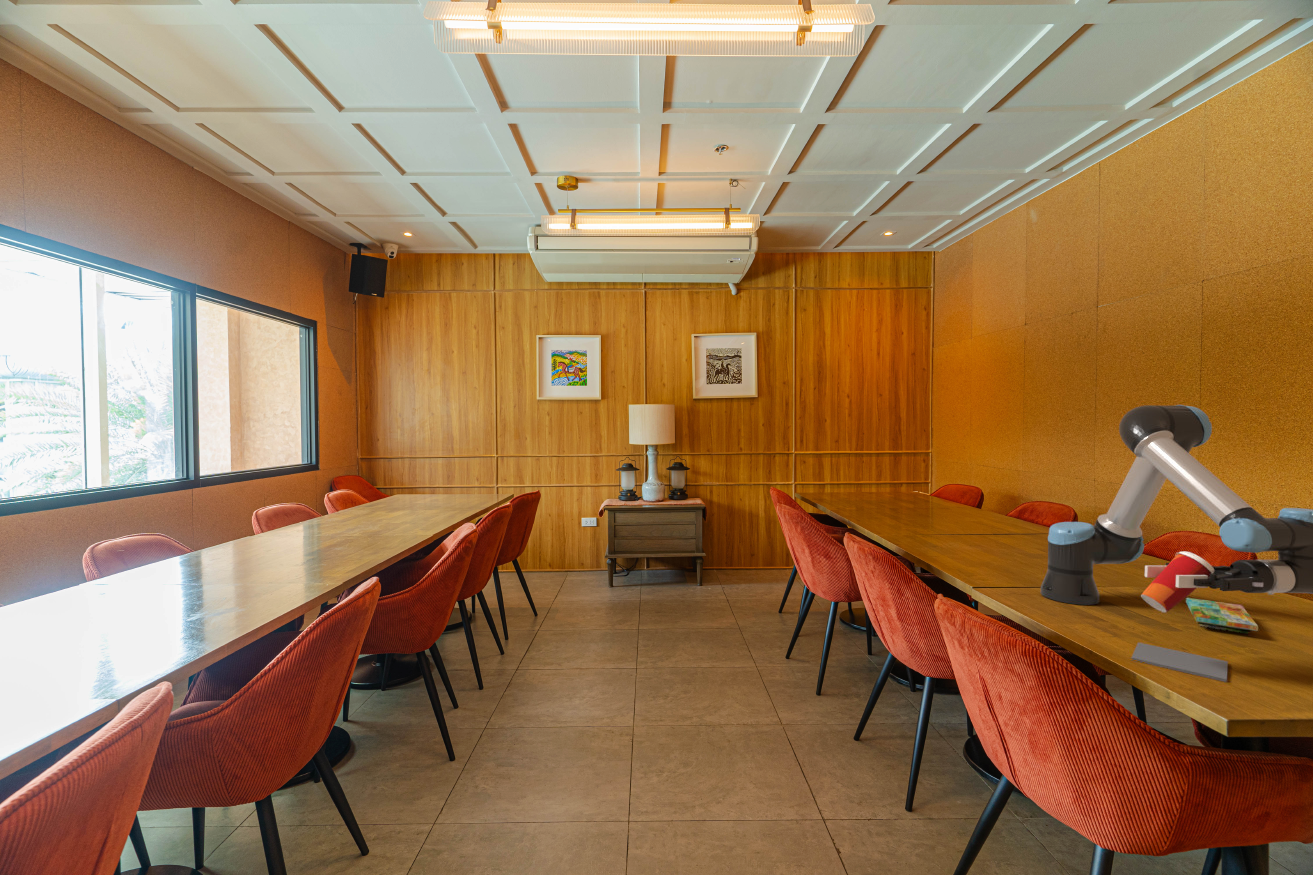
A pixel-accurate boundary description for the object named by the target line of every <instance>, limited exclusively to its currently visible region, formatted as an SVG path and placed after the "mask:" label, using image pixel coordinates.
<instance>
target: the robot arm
mask: <svg viewBox="0 0 1313 875" xmlns="http://www.w3.org/2000/svg"><path fill="white" fill-rule="evenodd" d="M1118 426H1119V427H1118V432H1119V435H1120V438H1121V440H1122V442H1123V443H1124V444H1125V447H1127V448H1128V449H1129V450H1130V452H1132V453H1133V454H1134V455H1135V456H1136V457H1135V458H1134V461H1133V463H1132V465H1131V467H1130V468H1129V470H1128V472H1127V474H1126V477H1124V480H1123V482H1122V484H1121V486H1120V488H1119V489H1118V491H1117V493H1116V496H1115V497H1114V499H1113V501H1112V503H1111V505H1110V506H1109V508H1108V511H1107V513H1104V514H1100V515H1098V517H1097V518H1096V520H1095V522H1094V525H1093V524H1091V523H1088V522H1083V521H1063V522H1057V523H1054V524H1052V525H1050V527H1049V529H1048V536H1047V541H1048V542H1047V543H1048V544H1047V547H1048V548H1047V570H1046V573H1045V575H1044V579H1043V581H1042V582H1041V585H1040V594H1041V595H1042V596H1043V597H1044V598H1047V599H1050V600H1053V601H1055V602H1060V603H1065V604H1071V605H1082V606H1086V605H1089V606H1090V605H1091V606H1092V605H1098V604H1099V603H1100V593H1099V589H1098V587H1097V584H1096V582H1095V578H1094V565H1107V564H1108V565H1110V564H1113V565H1114V564H1115V565H1119V564H1120V565H1121V564H1126V563H1131V562H1133V561H1136V560H1137V559H1138V558H1140V557H1141V555H1143V552H1144V549H1145V543H1144V540H1145V539H1144V536H1143V530H1142V528H1141V527H1140V526H1141V525H1142V523H1143V521H1144V519H1145V517H1146V516H1147V514H1148V512H1149V510H1150V508H1151V507H1152V505H1153V503H1154V502H1155V500H1156V498H1157V496H1158V494H1159V493H1160V492H1161V490H1162V487H1163V486H1164V484H1165V482H1166V481H1167V480H1168V481H1169V482H1170V483H1171V484H1173V485H1174V487H1176V488H1177V489H1179V491H1180V492H1181V493H1183V495H1185V496H1186V497H1187V498H1188V500H1190V501H1191V502H1192V503H1193V504H1194V505H1196V507H1198V509H1200V510H1201V511H1202V512H1203V513H1204V514H1205V515H1207V517H1209V518H1210V519H1211V520H1212V521H1213V522H1214V523H1215V524H1216V525H1217V526H1218V527H1219V537H1220V538H1221V541H1222V543H1223V544H1224V546H1225V547H1227V548H1229V549H1231V550H1232V551H1237V552H1242V553H1255V554H1256V553H1257V554H1258V553H1263V552H1277V554H1278V555H1277V557H1278V559H1238V560H1235V561H1233V562H1232V563H1231V564H1230V565H1229V566H1228V565H1219V566H1215V565H1211V566H1212V567H1213V568H1214V573H1213V574H1211V573H1210V578H1208V576H1206V575H1176V587H1178V588H1196V589H1207V588H1210V589H1213V590H1217V589H1219V590H1220V592H1234V591H1237V592H1238V591H1240V592H1242V593H1248V594H1268V595H1271V596H1273V595H1274V594H1276V593H1279V594H1280V593H1281V594H1283V593H1284V594H1286V593H1289V594H1313V509H1311V508H1299V507H1284V508H1281V509H1280V510H1279V515H1278V516H1277V517H1270V518H1269V517H1265V516H1263V515H1262V514H1261V513H1260V512H1258V511H1257V510H1256V509H1254V508H1253V507H1252V506H1251V505H1250V504H1249V503H1247V502H1246V501H1245V500H1244V499H1243V498H1241V497H1240V495H1238V494H1237V493H1236V492H1235V491H1234V490H1232V489H1231V488H1229V487H1230V486H1228V485H1226V484H1225V483H1224V482H1223V481H1222V480H1221V479H1220V478H1218V477H1217V476H1216V475H1215V474H1213V473H1212V471H1210V470H1209V469H1208V468H1206V467H1205V466H1204V465H1203V464H1202V463H1200V461H1199V460H1197V458H1195V457H1194V456H1193V455H1192V454H1190V452H1191V450H1192V449H1193V448H1197V447H1199V446H1202V445H1204V444H1206V443H1207V442H1208V440H1209V439H1210V437H1211V435H1212V431H1213V426H1212V422H1211V421H1210V419H1209V416H1208V415H1207V413H1205V411H1203V410H1201V409H1200V408H1198V407H1195V406H1190V405H1183V404H1175V405H1152V404H1151V405H1150V404H1149V405H1140V406H1136V407H1134V408H1132V409H1131V410H1129V411H1127V412H1126V413H1125V414H1124V415H1123V417H1122V418H1121V419H1120V422H1119V425H1118ZM1169 563H1170V562H1166V563H1165V565H1144V577H1145V578H1156V577H1157V576H1158V575H1159V574H1160V573H1161V572H1162V571H1163V570H1164V569H1165V567H1166V566H1167V565H1168V564H1169Z"/></svg>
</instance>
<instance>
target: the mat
mask: <svg viewBox="0 0 1313 875" xmlns="http://www.w3.org/2000/svg"><path fill="white" fill-rule="evenodd" d="M1130 659H1133V660H1137V661H1140V662H1139V663H1142V662H1145V663H1144V664H1146V663H1147V665H1150V664H1151V665H1150V666H1155V667H1160V668H1163V667H1164V668H1165V669H1167V668H1168V670H1172V671H1177V672H1181V673H1184V674H1191V675H1194V676H1199V677H1202V678H1208V679H1212V680H1216V681H1221V682H1224V683H1227V682H1228V661H1227V660H1223V659H1218V658H1213V657H1209V656H1203V655H1199V654H1194V653H1191V652H1185V651H1181V650H1176V649H1170V648H1165V647H1161V646H1156V645H1153V644H1147V643H1144V642H1137V644H1136V647H1135V648H1134V650H1133V654H1132V655H1131V658H1130ZM1133 660H1132V661H1133ZM1137 661H1136V662H1137ZM1164 668H1163V669H1164Z"/></svg>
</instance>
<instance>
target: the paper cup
mask: <svg viewBox="0 0 1313 875" xmlns="http://www.w3.org/2000/svg"><path fill="white" fill-rule="evenodd" d="M1168 563H1169V564H1168V565H1167V566H1166V565H1165V566H1166V567H1165V569H1164V570H1163V571H1162V572H1161V573H1160V574H1159V575H1158V576H1157V577H1154V579H1153V580H1152V582H1150V584H1149V585H1148V586H1147V587H1146V588H1145V589H1144V590H1143V592H1142V593H1141V595H1140V597H1141V598H1142V600H1143V601H1145V602H1146V603H1147V604H1148V605H1150V607H1152V608H1154V609H1155V610H1157V611H1159V612H1161V613H1165V614H1166V613H1168V612H1169V611H1170V610H1172V609H1173V608H1174V607H1175V606H1177V605H1178V604H1179V603H1180V602H1181V601H1183V600H1184V599H1186V598H1188V596H1189V595H1191V593H1193V592H1194V591H1195V590H1197V588H1178V587H1176V575H1206V576H1208V578H1210V573H1211V574H1213V573H1214V568H1213V567H1212V566H1213V565H1211V564H1210V562H1208V561H1207V560H1205V559H1204V558H1203V557H1201V556H1199V555H1197V554H1195V553H1193V552H1191V551H1179V552H1175V554H1174V558H1172V560H1171V561H1170V562H1168Z"/></svg>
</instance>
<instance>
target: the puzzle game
mask: <svg viewBox="0 0 1313 875" xmlns="http://www.w3.org/2000/svg"><path fill="white" fill-rule="evenodd" d="M1185 603H1186V605H1187V607H1188V610H1189V611H1190V613H1191V615H1192V616H1193V618H1194V620H1195V622H1196V623H1197V625H1198V626H1199V627H1201V626H1202V627H1203V628H1207V627H1209V629H1214V628H1215V630H1220V629H1221V630H1222V631H1226V630H1228V631H1227V632H1233V631H1234V632H1233V633H1239V632H1240V633H1241V634H1246V635H1248V634H1250V633H1252V632H1253V631H1254V632H1258V631H1259V625H1258V624H1257V623H1256V622H1255V620H1254V619H1253V618H1252V617H1251V615H1250V614H1249V613H1248V612H1247V610H1246V609H1245V607H1244V606H1243V605H1242V604H1236V603H1235V604H1234V603H1228V602H1227V603H1226V602H1222V601H1215V600H1214V601H1213V600H1207V599H1198V598H1191V597H1185ZM1221 630H1220V631H1221ZM1240 633H1239V634H1240Z"/></svg>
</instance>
